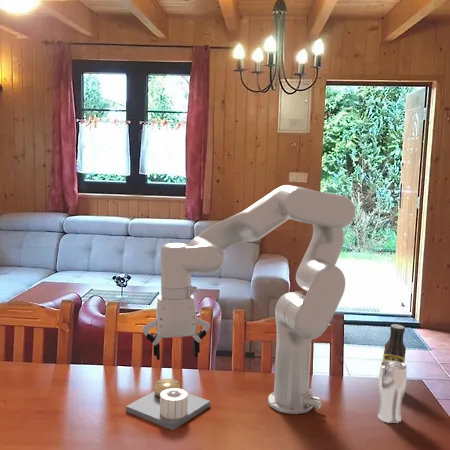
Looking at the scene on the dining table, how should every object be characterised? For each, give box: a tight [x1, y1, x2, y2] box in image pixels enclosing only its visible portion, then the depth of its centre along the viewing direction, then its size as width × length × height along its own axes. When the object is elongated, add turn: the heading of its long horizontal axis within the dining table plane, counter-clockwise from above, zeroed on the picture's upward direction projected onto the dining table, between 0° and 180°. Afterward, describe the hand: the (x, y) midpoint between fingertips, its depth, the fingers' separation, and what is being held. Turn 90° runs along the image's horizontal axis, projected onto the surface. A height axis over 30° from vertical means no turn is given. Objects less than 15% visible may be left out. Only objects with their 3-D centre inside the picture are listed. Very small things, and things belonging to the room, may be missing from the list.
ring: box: [160, 388, 189, 419], centre depth 139 cm, size 7×7×5 cm
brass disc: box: [153, 378, 181, 399], centre depth 149 cm, size 7×7×3 cm
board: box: [125, 391, 211, 431], centre depth 144 cm, size 16×16×2 cm
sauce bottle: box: [382, 323, 407, 364], centre depth 159 cm, size 6×6×20 cm
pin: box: [169, 390, 178, 397], centre depth 139 cm, size 2×2×6 cm
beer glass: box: [377, 360, 408, 424], centre depth 142 cm, size 7×7×15 cm
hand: (176, 356), depth 137 cm, fingers open, 9 cm apart
